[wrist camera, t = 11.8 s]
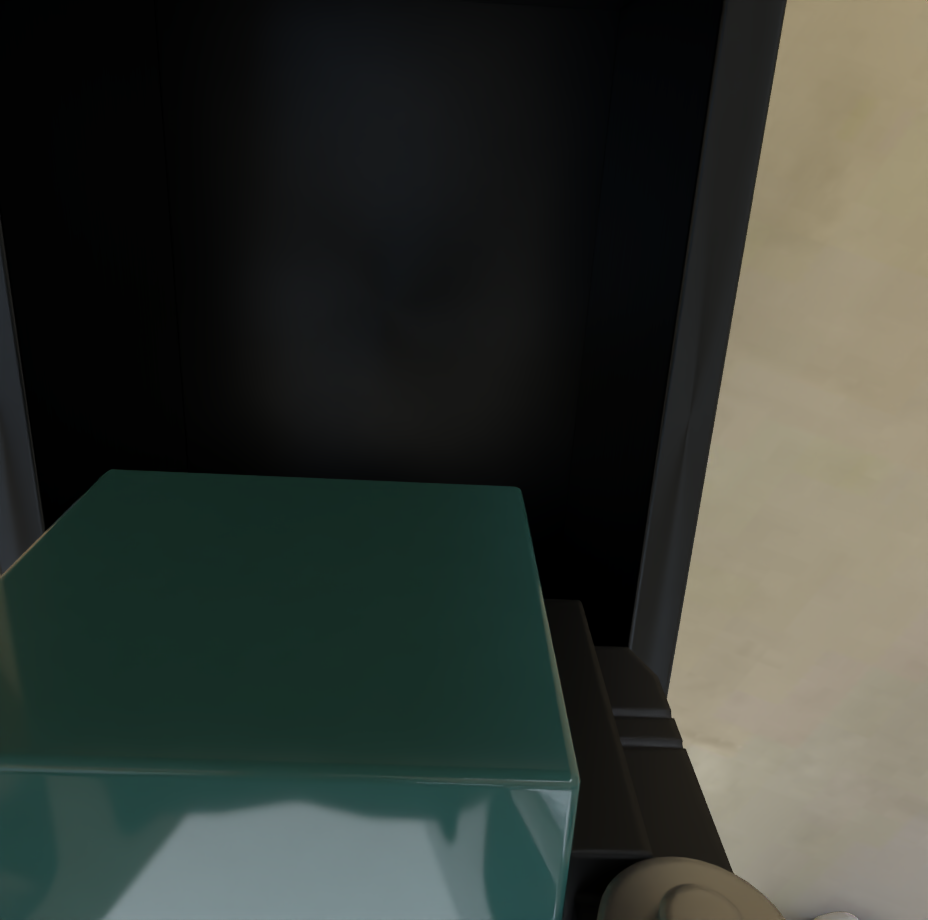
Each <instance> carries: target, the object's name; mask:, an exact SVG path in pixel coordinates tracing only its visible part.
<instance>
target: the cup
mask: <svg viewBox="0 0 928 920" xmlns="http://www.w3.org/2000/svg"><path fill="white" fill-rule="evenodd" d="M814 920H859V919H858V918H857V917H856V916H854V915H853V914H850V913H847V912H832V913H828V914H824V915H821V916H817V917H816V918H815V919H814Z"/></svg>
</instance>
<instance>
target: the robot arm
mask: <svg viewBox="0 0 928 920" xmlns="http://www.w3.org/2000/svg"><path fill="white" fill-rule="evenodd" d="M544 601H545V606H546V611H547V616H548V621H549V626H550V630H551V635H552V640H553V645H554V650H555V655H556V660H557V665H558V670H559V675H560V680H561V685H562V689H563V694H564V699H565V704H566V709H567V714H568V719H569V724H570V729H571V734H572V739H573V743H574V748H575V753H576V758H577V763H578V768H579V773H580V778H581V788H580V795H579V803H578V810H577V818H576V825H575V833H574V840H573V848H572V855H571V863H570V870H569V878H568V885H567V893H566V900H565V908H564V915H563V920H785V918H784V917H783V916H782V914H781V913H780V912H779V911H778V909H777V908H776V907H775V906H774V905H773V904H772V903H771V902H770V901H769V900H768V899H767V898H766V897H765V896H764V895H763V894H762V893H761V892H760V891H758V890H757V889H756V888H755V887H753V886H752V885H751V884H750V883H748V882H747V881H745V880H743V879H742V878H740V877H738V876H737V875H735V874H734V873H733V871H732V869H731V866H730V863H729V861H728V858H727V856H726V853H725V850H724V848H723V845H722V843H721V840H720V837H719V835H718V832H717V829H716V827H715V824H714V822H713V819H712V816H711V814H710V811H709V809H708V806H707V803H706V801H705V798H704V795H703V793H702V790H701V788H700V785H699V782H698V780H697V777H696V775H695V772H694V769H693V767H692V764H691V761H690V759H689V756H688V754H687V751H686V749H683V746H682V742H683V741H682V738H681V735H680V733H679V730H678V727H677V725H676V722H675V720H674V718H671V709H670V707H669V704H668V701H667V699H666V696H665V694H664V691H663V688H662V686H661V683H660V680H659V678H658V676H657V675H656V674H655V673H654V672H653V671H652V670H651V669H650V668H649V667H648V666H647V665H646V664H645V663H644V662H643V661H642V660H641V659H640V658H639V657H638V656H637V655H636V654H635V653H634V652H633V651H632V650H631V649H630V648H629V647H615V646H594V644H593V640H592V637H591V633H590V630H589V626H588V622H587V619H586V615H585V612H584V608H583V605H582V603H581V601H580V600H565V599H544Z"/></svg>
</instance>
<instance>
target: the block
mask: <svg viewBox="0 0 928 920" xmlns="http://www.w3.org/2000/svg"><path fill="white" fill-rule="evenodd" d="M580 788H581V778H580V773H579V768H578V763H577V758H576V753H575V748H574V743H573V739H572V734H571V729H570V724H569V719H568V714H567V709H566V704H565V699H564V694H563V689H562V685H561V680H560V675H559V670H558V665H557V660H556V655H555V650H554V645H553V640H552V635H551V630H550V626H549V621H548V616H547V611H546V606H545V601H544V596H543V591H542V586H541V581H540V576H539V572H538V567H537V562H536V557H535V552H534V547H533V542H532V537H531V532H530V527H529V522H528V517H527V513H526V508H525V503H524V498H523V494H522V491H521V489H520V488H517V487H511V486H488V485H465V484H442V483H418V482H395V481H372V480H349V479H325V478H302V477H279V476H256V475H233V474H209V473H186V472H163V471H140V470H116V469H111V470H108V471H106V472H105V473H104V474H103V475H102V476H101V477H100V478H99V479H98V480H97V481H96V482H95V483H94V484H93V485H92V486H91V487H90V488H89V489H88V490H87V491H86V492H85V493H84V494H83V495H82V496H81V497H80V498H79V499H78V500H77V501H76V502H75V503H74V504H73V505H72V506H71V507H70V508H69V509H68V510H67V511H66V512H65V513H64V514H63V515H62V516H61V517H60V518H59V519H58V520H57V521H56V522H55V523H54V524H52V525H51V526H50V527H49V528H48V529H47V530H46V531H45V532H44V533H43V534H42V535H41V536H40V537H39V538H38V539H37V540H36V541H35V542H34V543H33V544H32V545H31V546H30V547H29V548H28V549H27V550H26V551H25V552H24V553H23V554H22V555H21V556H20V557H19V558H18V559H17V560H16V561H15V562H14V563H13V564H12V565H11V566H10V567H9V568H8V569H7V570H6V571H5V572H4V573H3V574H2V575H1V576H0V920H563V915H564V908H565V900H566V893H567V885H568V878H569V870H570V863H571V855H572V848H573V840H574V833H575V825H576V818H577V810H578V803H579V795H580Z"/></svg>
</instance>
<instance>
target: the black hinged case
mask: <svg viewBox="0 0 928 920" xmlns="http://www.w3.org/2000/svg"><path fill="white" fill-rule="evenodd" d="M786 2H787V0H0V576H1V575H2V574H3V573H4V572H5V571H6V570H7V569H8V568H9V567H10V566H11V565H12V564H13V563H14V562H15V561H16V560H17V559H18V558H19V557H20V556H21V555H22V554H23V553H24V552H25V551H26V550H27V549H28V548H29V547H30V546H31V545H32V544H33V543H34V542H35V541H36V540H37V539H38V538H39V537H40V536H41V535H42V534H43V533H44V532H45V531H46V530H47V529H48V528H49V527H50V526H51V525H52V524H54V523H55V522H56V521H57V520H58V519H59V518H60V517H61V516H62V515H63V514H64V513H65V512H66V511H67V510H68V509H69V508H70V507H71V506H72V505H73V504H74V503H75V502H76V501H77V500H78V499H79V498H80V497H81V496H82V495H83V494H84V493H85V492H86V491H87V490H88V489H89V488H90V487H91V486H92V485H93V484H94V483H95V482H96V481H97V480H98V479H99V478H100V477H101V476H102V475H103V474H104V473H105V472H106V471H108V470H111V469H116V470H140V471H163V472H186V473H209V474H233V475H256V476H279V477H302V478H325V479H349V480H372V481H395V482H418V483H442V484H465V485H488V486H511V487H517V488H520V489H521V491H522V494H523V498H524V503H525V508H526V513H527V517H528V522H529V527H530V532H531V537H532V542H533V547H534V552H535V557H536V562H537V567H538V572H539V576H540V581H541V586H542V591H543V596H544V599H565V600H580V601H581V603H582V605H583V608H584V612H585V615H586V619H587V622H588V626H589V630H590V633H591V637H592V640H593V644H594V646H615V647H629V648H630V649H631V650H632V651H633V652H634V653H635V654H636V655H637V656H638V657H639V658H640V659H641V660H642V661H643V662H644V663H645V664H646V665H647V666H648V667H649V668H650V669H651V670H652V671H653V672H654V673H655V674H656V675H657V676H658V678H659V680H660V683H661V686H662V688H663V691H664V694H665V696H666V699H667V694H668V689H669V683H670V677H671V671H672V665H673V660H674V654H675V648H676V642H677V636H678V630H679V625H680V619H681V613H682V607H683V601H684V596H685V590H686V584H687V578H688V572H689V566H690V561H691V555H692V549H693V543H694V537H695V532H696V526H697V520H698V514H699V508H700V502H701V497H702V491H703V485H704V479H705V473H706V468H707V462H708V456H709V450H710V444H711V439H712V433H713V427H714V421H715V415H716V409H717V404H718V398H719V392H720V386H721V380H722V375H723V369H724V363H725V357H726V351H727V345H728V340H729V334H730V328H731V322H732V316H733V311H734V305H735V299H736V293H737V287H738V282H739V276H740V270H741V264H742V258H743V252H744V247H745V241H746V235H747V229H748V223H749V218H750V212H751V206H752V200H753V194H754V188H755V183H756V177H757V171H758V165H759V159H760V154H761V148H762V142H763V136H764V130H765V124H766V119H767V113H768V107H769V101H770V95H771V90H772V84H773V78H774V72H775V66H776V61H777V55H778V49H779V43H780V37H781V31H782V26H783V20H784V14H785V8H786Z"/></svg>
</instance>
